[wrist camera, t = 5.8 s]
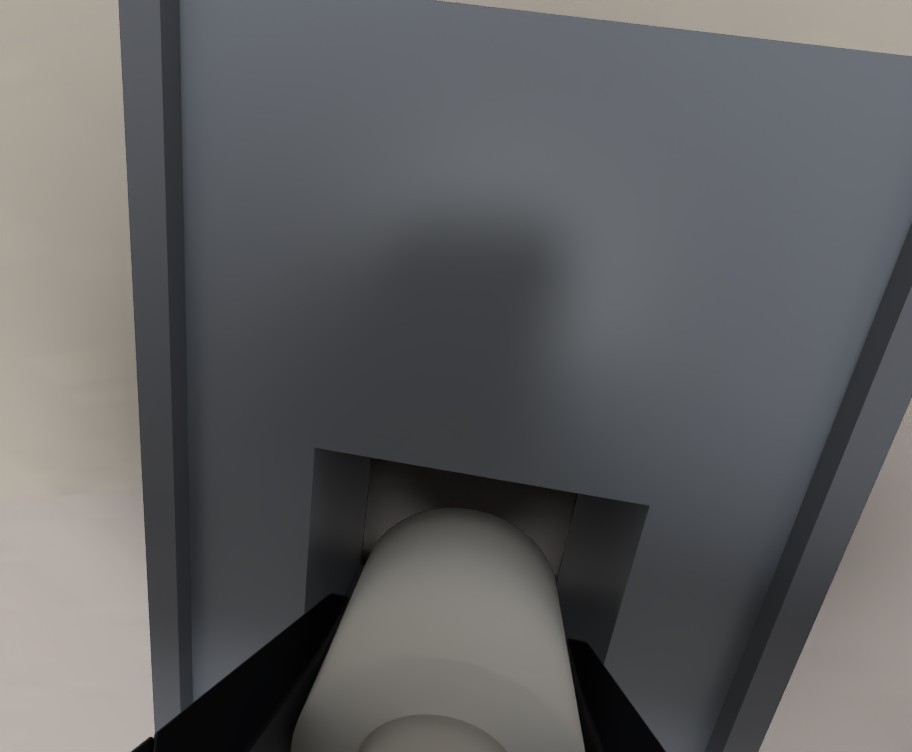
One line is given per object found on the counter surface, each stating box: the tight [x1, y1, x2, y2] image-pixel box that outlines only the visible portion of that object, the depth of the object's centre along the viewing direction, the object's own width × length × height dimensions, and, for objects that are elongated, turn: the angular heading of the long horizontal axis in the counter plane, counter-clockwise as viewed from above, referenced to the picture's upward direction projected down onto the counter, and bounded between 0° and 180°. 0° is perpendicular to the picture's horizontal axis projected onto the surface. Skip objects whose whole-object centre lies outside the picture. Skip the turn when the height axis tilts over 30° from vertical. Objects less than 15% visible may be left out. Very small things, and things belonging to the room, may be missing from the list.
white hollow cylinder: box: [291, 508, 585, 752], centre depth 7 cm, size 4×4×4 cm
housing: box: [119, 0, 912, 752], centre depth 11 cm, size 12×24×5 cm, turn 172°
